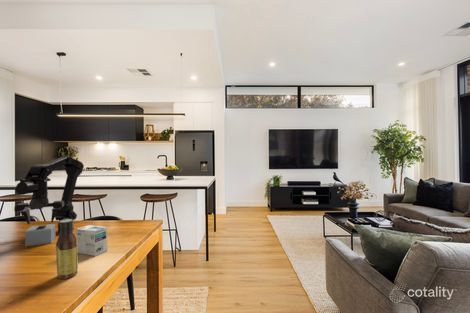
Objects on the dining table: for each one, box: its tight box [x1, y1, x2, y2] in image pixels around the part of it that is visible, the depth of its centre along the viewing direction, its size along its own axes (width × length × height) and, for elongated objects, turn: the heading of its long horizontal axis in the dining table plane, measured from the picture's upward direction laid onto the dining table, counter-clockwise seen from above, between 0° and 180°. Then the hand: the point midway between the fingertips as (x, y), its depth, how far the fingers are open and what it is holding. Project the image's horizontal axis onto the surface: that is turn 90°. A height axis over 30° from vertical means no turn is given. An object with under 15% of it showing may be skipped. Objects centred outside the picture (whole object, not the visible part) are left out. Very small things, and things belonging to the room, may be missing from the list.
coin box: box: [24, 223, 57, 247], centre depth 126 cm, size 10×9×7 cm
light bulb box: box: [76, 224, 108, 257], centre depth 113 cm, size 11×7×11 cm, turn 71°
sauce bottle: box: [55, 219, 79, 280], centre depth 92 cm, size 6×6×20 cm
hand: (40, 223), depth 126 cm, fingers open, 9 cm apart
